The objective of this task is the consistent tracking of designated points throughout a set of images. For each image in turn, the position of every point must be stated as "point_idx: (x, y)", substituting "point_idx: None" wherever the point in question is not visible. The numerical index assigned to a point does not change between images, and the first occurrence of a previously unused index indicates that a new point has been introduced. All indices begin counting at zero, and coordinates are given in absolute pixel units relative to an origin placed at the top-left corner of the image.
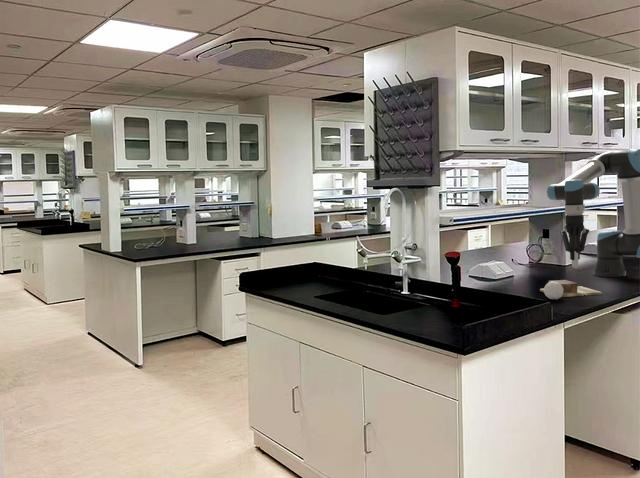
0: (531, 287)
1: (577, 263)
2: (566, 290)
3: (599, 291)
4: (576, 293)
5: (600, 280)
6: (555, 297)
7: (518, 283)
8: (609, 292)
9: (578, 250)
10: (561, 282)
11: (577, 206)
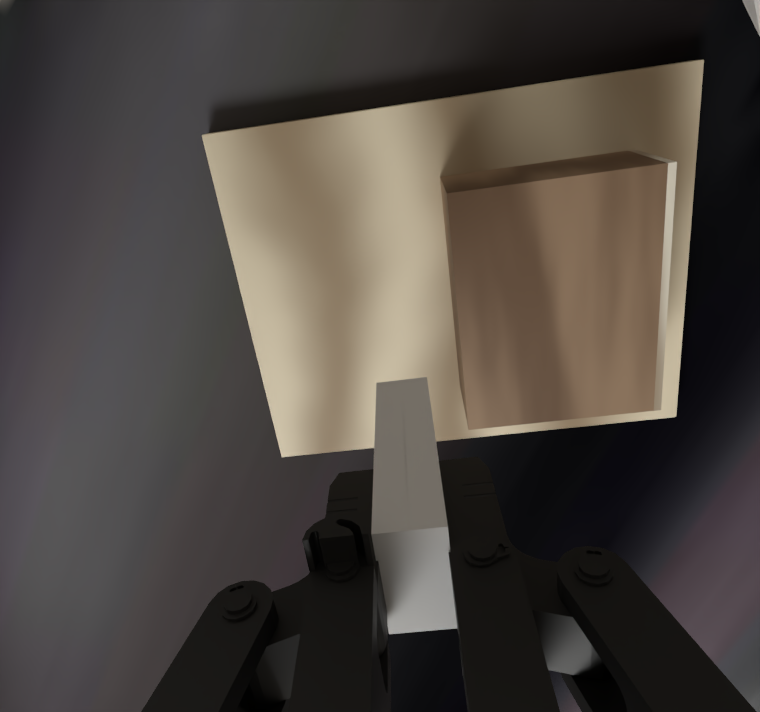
0: (643, 549)
1: (390, 409)
2: (570, 163)
3: (212, 173)
4: (480, 109)
5: (39, 675)
6: None
7: None
8: (106, 220)
9: (356, 581)
10: (589, 284)
11: None
